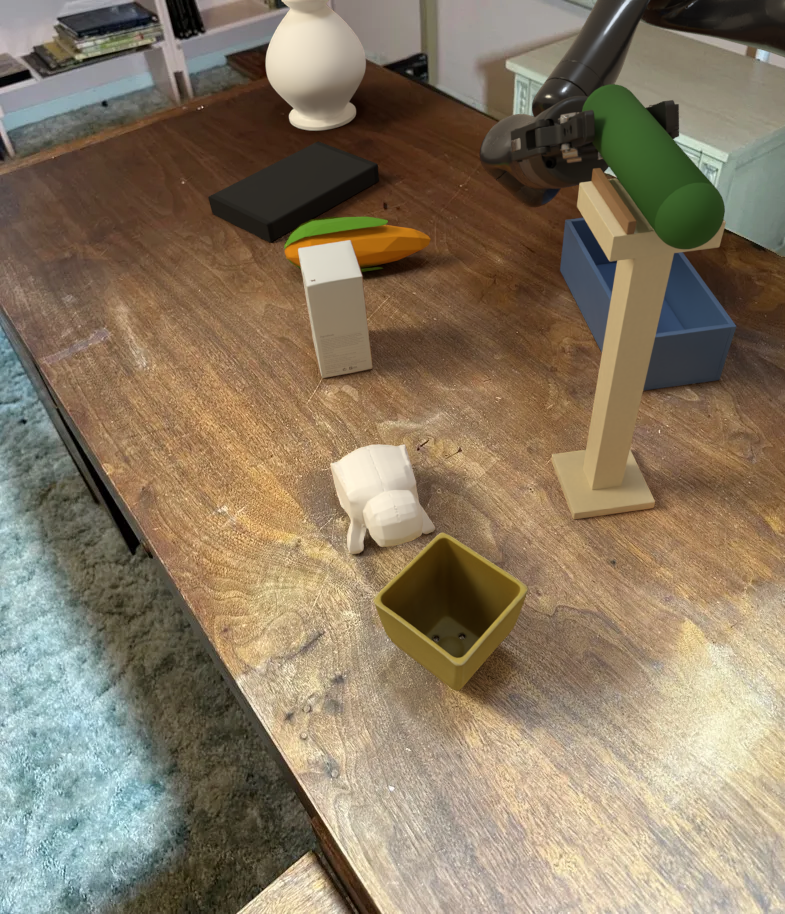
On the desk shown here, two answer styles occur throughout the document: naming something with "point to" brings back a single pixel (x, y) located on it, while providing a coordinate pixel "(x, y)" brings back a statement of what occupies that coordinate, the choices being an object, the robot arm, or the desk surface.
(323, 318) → the small box
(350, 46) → the decorative vase
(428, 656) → the flower pot
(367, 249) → the corn
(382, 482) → the white animal figurine
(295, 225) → the external hard drive
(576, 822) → the desk surface
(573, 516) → the wooden cradle stand
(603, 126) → the green cylinder
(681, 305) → the open box
